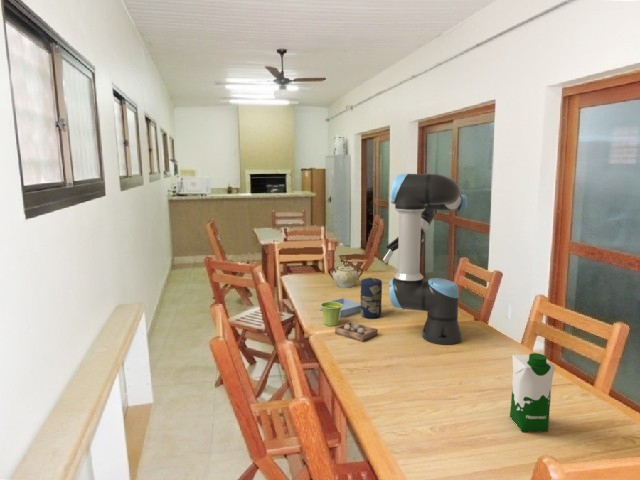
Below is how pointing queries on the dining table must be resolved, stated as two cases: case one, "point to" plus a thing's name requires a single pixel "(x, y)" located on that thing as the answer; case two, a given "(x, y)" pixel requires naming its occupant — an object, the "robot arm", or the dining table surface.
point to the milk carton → (531, 391)
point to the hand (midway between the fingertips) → (395, 264)
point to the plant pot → (331, 312)
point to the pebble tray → (356, 331)
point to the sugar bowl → (345, 275)
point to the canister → (371, 297)
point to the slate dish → (347, 307)
